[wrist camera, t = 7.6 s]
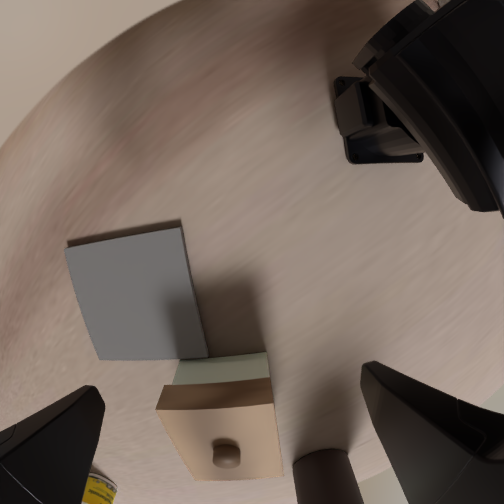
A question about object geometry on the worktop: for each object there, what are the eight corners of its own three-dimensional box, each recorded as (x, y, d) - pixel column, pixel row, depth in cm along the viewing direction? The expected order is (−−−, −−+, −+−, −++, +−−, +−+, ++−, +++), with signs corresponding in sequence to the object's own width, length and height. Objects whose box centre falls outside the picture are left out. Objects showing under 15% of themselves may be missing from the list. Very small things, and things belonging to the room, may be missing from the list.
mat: (181, 226, 19) (180, 227, 18) (208, 352, 21) (207, 357, 20) (67, 247, 19) (63, 249, 18) (102, 356, 21) (99, 360, 20)
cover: (270, 376, 16) (274, 415, 13) (281, 453, 18) (285, 485, 15) (164, 385, 16) (151, 420, 13) (198, 458, 18) (193, 489, 15)
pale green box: (266, 351, 21) (271, 388, 16) (274, 411, 22) (279, 447, 18) (180, 360, 21) (168, 395, 17) (200, 417, 22) (194, 452, 18)
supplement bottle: (123, 487, 27) (109, 533, 17) (108, 490, 28) (94, 531, 18) (95, 470, 26) (76, 515, 16) (82, 473, 27) (64, 514, 17)
